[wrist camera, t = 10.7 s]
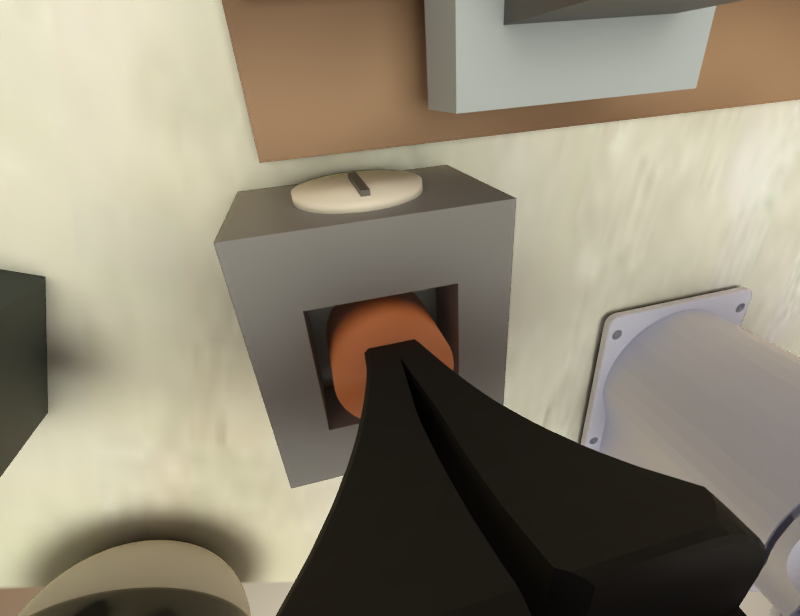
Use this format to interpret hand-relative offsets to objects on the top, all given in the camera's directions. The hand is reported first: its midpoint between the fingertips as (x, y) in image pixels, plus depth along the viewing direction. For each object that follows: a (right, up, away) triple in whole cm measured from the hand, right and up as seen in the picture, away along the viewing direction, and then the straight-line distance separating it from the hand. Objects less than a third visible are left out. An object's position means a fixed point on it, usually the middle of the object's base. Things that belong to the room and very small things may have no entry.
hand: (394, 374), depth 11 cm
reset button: (-1, +1, +2) cm, 2 cm away
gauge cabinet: (-1, +3, +5) cm, 6 cm away
